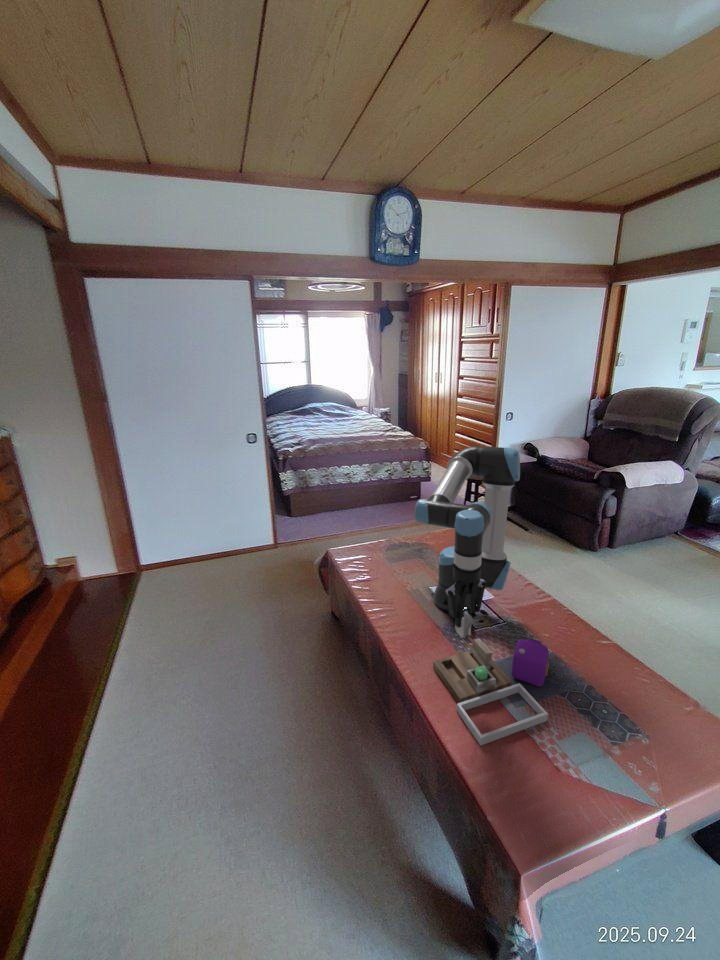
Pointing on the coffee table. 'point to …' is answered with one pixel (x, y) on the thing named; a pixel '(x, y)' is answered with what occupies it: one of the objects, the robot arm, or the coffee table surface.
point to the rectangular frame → (507, 729)
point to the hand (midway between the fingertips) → (463, 633)
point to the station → (470, 673)
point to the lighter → (466, 625)
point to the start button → (481, 673)
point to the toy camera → (530, 662)
